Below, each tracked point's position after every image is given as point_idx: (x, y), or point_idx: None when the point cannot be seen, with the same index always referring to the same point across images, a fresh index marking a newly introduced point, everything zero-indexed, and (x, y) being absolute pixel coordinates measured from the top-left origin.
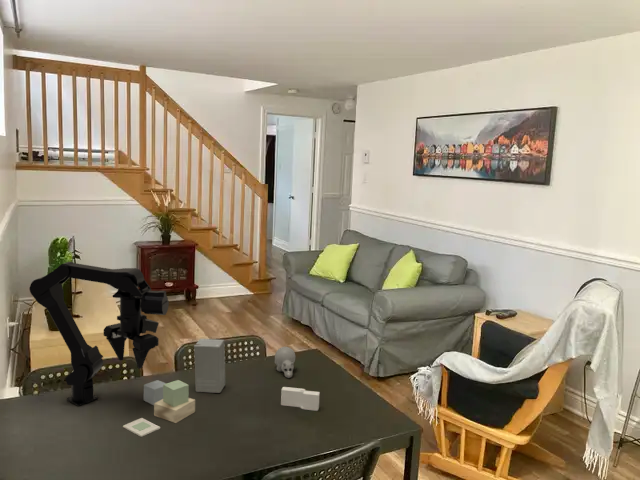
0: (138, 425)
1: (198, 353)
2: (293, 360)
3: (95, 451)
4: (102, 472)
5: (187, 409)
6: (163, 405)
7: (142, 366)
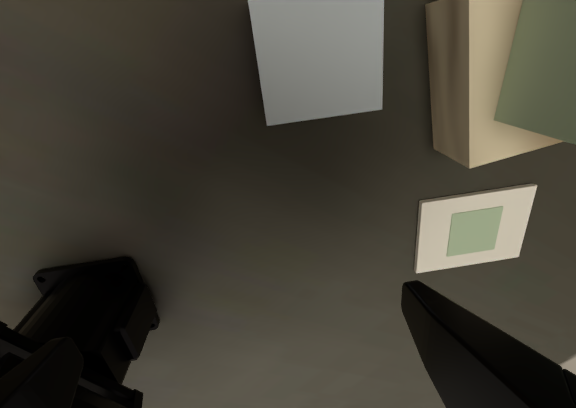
0: (462, 238)
1: None
2: None
3: None
4: None
5: None
6: (528, 144)
7: (429, 287)
